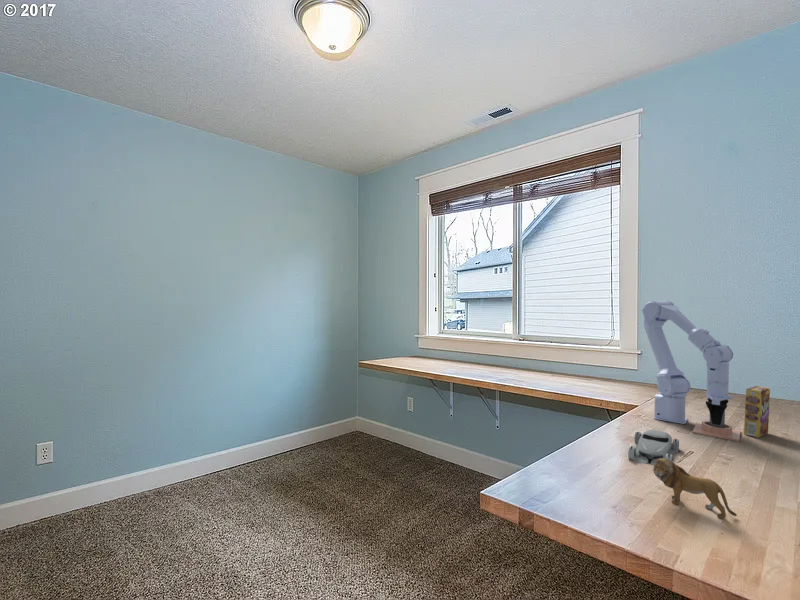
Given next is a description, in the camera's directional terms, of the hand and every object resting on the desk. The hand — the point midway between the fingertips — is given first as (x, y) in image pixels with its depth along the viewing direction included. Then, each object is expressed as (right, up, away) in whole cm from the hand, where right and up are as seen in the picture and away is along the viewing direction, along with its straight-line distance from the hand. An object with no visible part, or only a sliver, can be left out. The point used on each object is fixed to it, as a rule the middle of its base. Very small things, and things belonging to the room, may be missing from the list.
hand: (716, 422), depth 138 cm
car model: (-32, -4, -17) cm, 36 cm away
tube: (0, -3, 0) cm, 3 cm away
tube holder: (0, -3, 0) cm, 3 cm away
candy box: (+12, -4, -1) cm, 13 cm away
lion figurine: (-43, -4, -49) cm, 65 cm away
